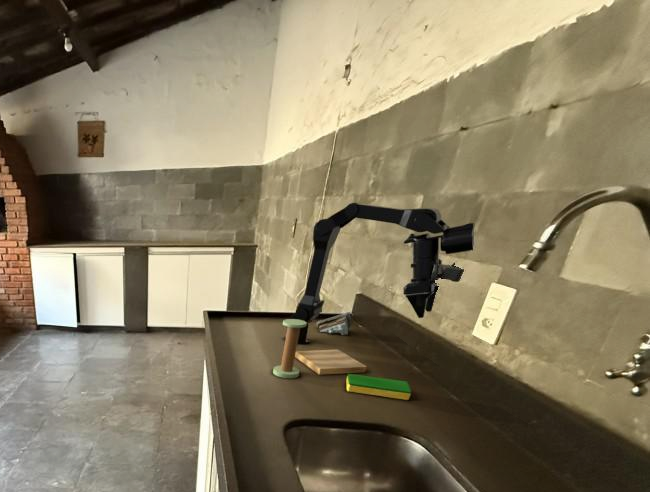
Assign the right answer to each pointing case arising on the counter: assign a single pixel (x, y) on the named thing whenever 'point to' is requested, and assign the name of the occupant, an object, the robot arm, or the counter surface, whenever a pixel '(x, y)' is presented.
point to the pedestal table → (295, 371)
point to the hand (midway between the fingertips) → (425, 314)
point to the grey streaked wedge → (336, 324)
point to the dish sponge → (378, 386)
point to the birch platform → (330, 362)
